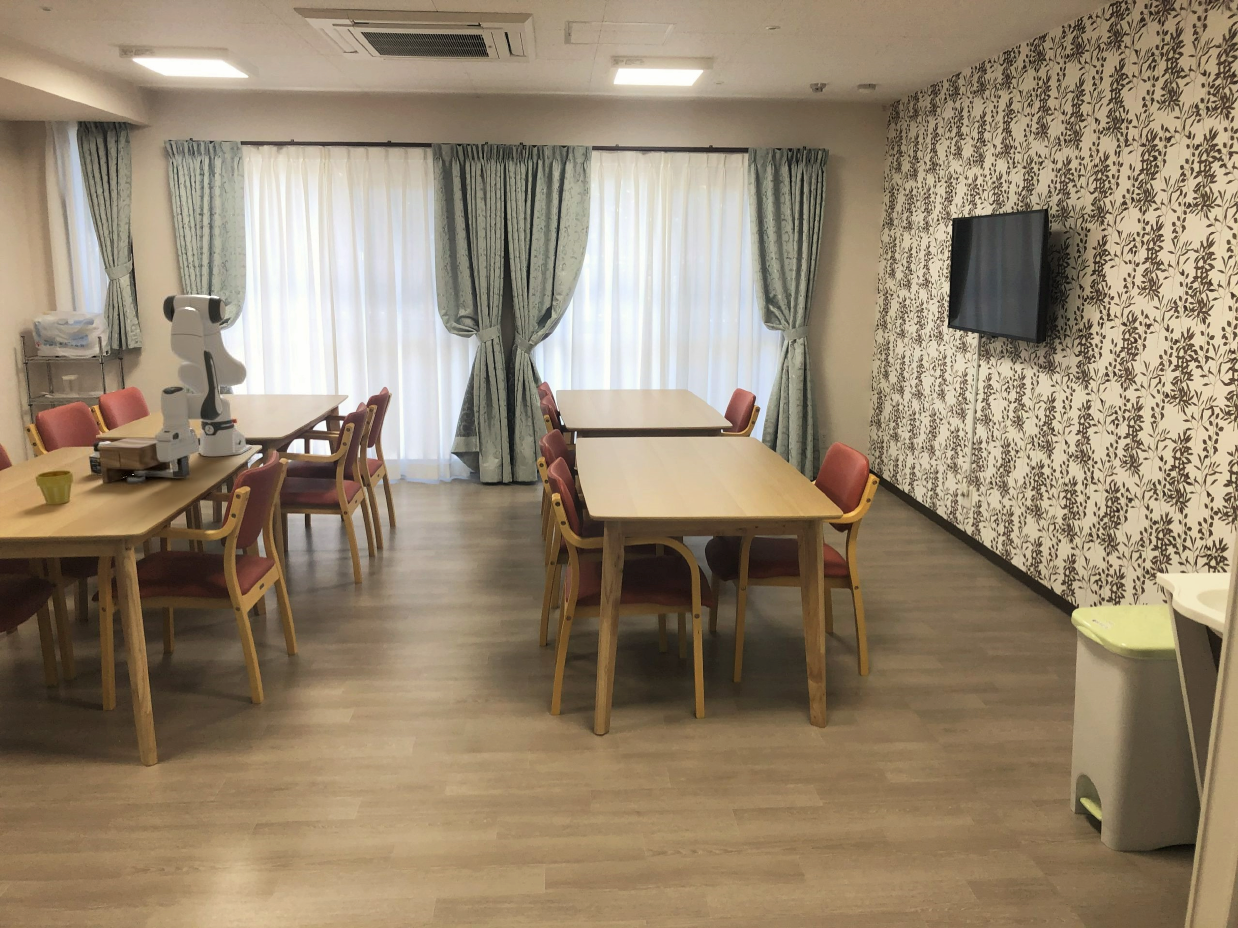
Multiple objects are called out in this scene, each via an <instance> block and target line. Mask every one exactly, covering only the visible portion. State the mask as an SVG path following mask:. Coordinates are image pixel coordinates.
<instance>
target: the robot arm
mask: <svg viewBox="0 0 1238 928" xmlns="http://www.w3.org/2000/svg"><path fill="white" fill-rule="evenodd" d="M162 312H163V315H164V318H165V319H166V320H167V321H168V322H170V323H171V329H170V347H171V351H172V352H173V354H174V355H175V356H176V357H177V358H179V359H180V360H182V361H183V362H182V363H180V365H179V367H178V370H177V376H178V377H177V378H178V379H179V381H180V383H181V384H182V385H183V386H185V387H187V388H188V389H189V390H190V391H192V392H193V393H189V392H186V391H185V389H184V387H182V386H170V387H169V386H168V387H166V388H164V389H162V390H161V392H160V393H161V394H160V395H161V396H160V409H161V411H160V412H161V415H162V417H163V421H162V428H161V429H160V430H159V431H158V432H157V433H156V434H155V435H154V439H155V440H156V441H158V442H157V444H156V450H157V458H158V460H159V461H160V462H169V461H170V466H171V467H173V471H178V470H180V467H179V466H178V465H177V459H178V458H181V457H184V456H185V457H188V461H190V458H191V455H193V454H196V453H198V454H200V455H201V456H205V457H223V456H224V457H226V456H233V455H242V454H244V453H245V452H246V451H248V450H250V449H252V448H253V446H252V445H250V444H247V443H246V438H245V437H246V436H245V435H244V434H243V433H242V432H241V431H239V429H237V428H236V427H235V424H237V423H238V419H237V418H232V412H231V403H230V400H228V398H227V397H225V396H224V395H221V394H220V389H219V387H234V386H238V385H242V384H243V383H244V381H245V380H246V378H247V369H246V367H245V364H243V363H242V362H241V361H240V360H238V359H237V358H235V357H233V356H232V355H231V354H230V353H229V351H228V350H227V349H226V346H225V345H224V342H223V338H222V332H221V326H220V323H222V321H223V320H225V317H226V314H227V309H226V305H225V302H224V300H223V299H222V298H221V297H219V296H215V295H211V296H210V295H203V294H184V295H177V294H174V295H173V294H172V295H168V296H167V297H166V298H165V299H164V300H163V306H162ZM190 420H201V421H200V423H201V424H200V426H201V430H202V431H201V433H200V435H199V438H200V439H199V438H198V435H197V434H196V431H195V429H194V428H191V424H190V423H191V422H190Z"/></svg>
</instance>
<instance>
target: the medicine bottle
mask: <svg viewBox="0 0 1238 928" xmlns="http://www.w3.org/2000/svg"><path fill="white" fill-rule="evenodd" d="M108 443H111V441H109V440H99V441H95V442H94V443H93V445H92V446H93V453H94V454H90V455H89V456H88V459H89V467H90V474H91V475H97V474H98V476H102V472H101V463H100V455H99V449H98V448H97V446H100V445H104V444H108Z"/></svg>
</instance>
